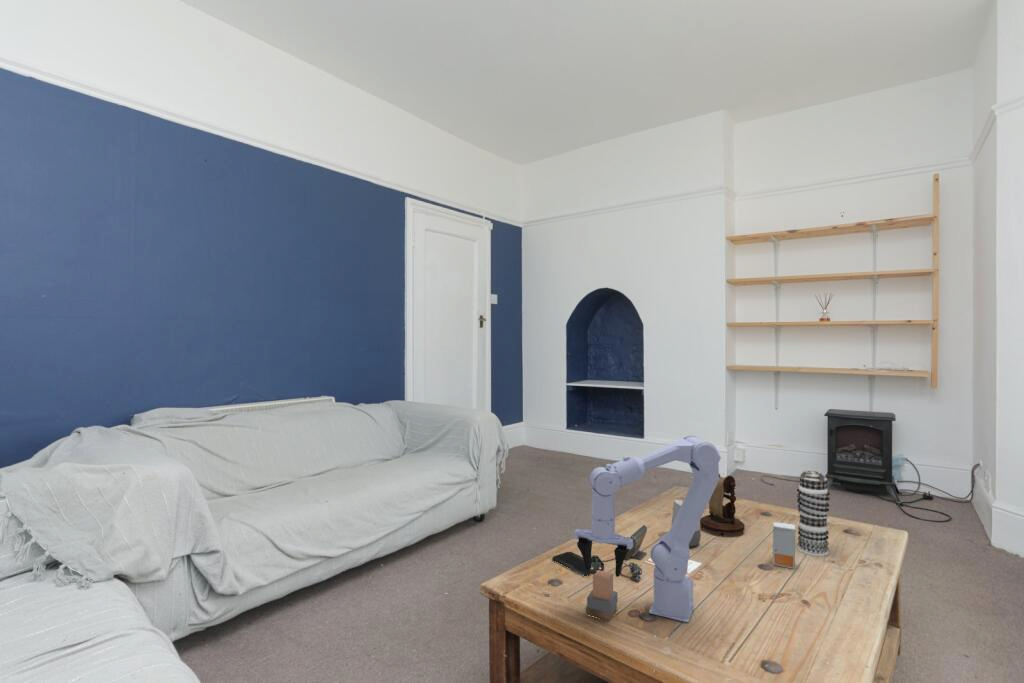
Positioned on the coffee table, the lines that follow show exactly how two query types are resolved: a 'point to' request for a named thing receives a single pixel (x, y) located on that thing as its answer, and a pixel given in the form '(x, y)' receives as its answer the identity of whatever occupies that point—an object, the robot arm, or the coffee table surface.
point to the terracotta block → (603, 584)
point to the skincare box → (784, 545)
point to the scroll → (723, 509)
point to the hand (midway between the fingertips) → (603, 571)
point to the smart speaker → (697, 533)
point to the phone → (573, 562)
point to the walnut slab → (601, 613)
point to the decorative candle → (813, 513)
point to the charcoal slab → (602, 602)
